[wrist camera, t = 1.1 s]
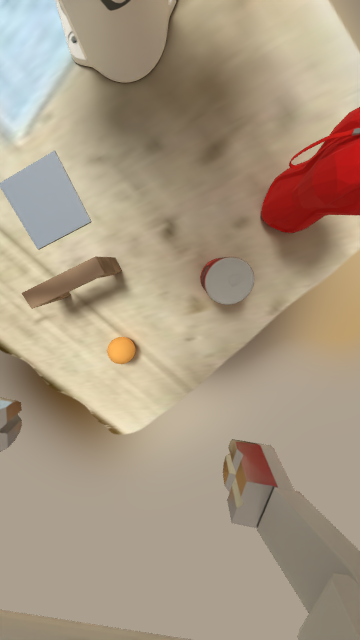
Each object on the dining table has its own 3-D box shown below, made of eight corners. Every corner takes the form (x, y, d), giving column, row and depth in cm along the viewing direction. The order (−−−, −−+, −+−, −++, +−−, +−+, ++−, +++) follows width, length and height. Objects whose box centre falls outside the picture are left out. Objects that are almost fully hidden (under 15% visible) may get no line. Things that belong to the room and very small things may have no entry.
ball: (108, 338, 47) (97, 349, 42) (130, 329, 47) (123, 339, 41) (120, 359, 49) (111, 373, 43) (142, 350, 48) (136, 363, 42)
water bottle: (267, 166, 37) (421, -9, 13) (319, 189, 38) (553, 66, 14) (245, 218, 39) (340, 151, 15) (294, 239, 40) (456, 206, 16)
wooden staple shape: (55, 286, 44) (21, 293, 35) (115, 257, 42) (95, 256, 33) (63, 298, 45) (31, 308, 35) (121, 271, 43) (104, 273, 33)
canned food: (244, 279, 43) (263, 285, 32) (214, 301, 44) (223, 314, 34) (223, 249, 41) (237, 245, 31) (192, 274, 43) (195, 278, 32)
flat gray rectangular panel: (-1, 184, 39) (-2, 184, 38) (55, 151, 37) (54, 150, 37) (38, 249, 42) (37, 249, 42) (91, 221, 40) (90, 221, 40)
